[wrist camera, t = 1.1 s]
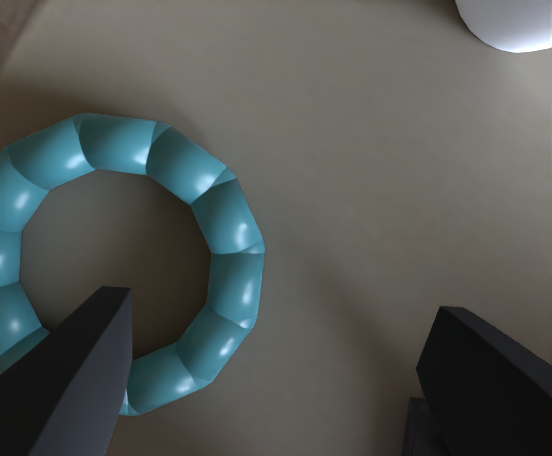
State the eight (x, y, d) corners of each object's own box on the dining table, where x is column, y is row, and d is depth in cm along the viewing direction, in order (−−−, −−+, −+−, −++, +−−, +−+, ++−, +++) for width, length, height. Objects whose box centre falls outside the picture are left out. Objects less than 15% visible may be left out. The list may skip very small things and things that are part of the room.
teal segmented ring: (246, 409, 22) (244, 437, 19) (-29, 384, 21) (-68, 409, 19) (277, 139, 21) (279, 131, 18) (-12, 104, 20) (-51, 91, 18)
